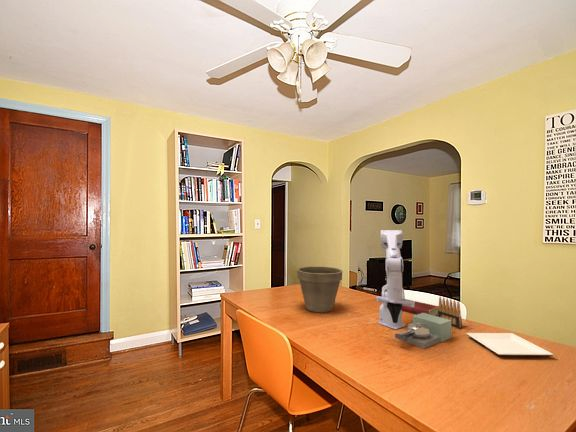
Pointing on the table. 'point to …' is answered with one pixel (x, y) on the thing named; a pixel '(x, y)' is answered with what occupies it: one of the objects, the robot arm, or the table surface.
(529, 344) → the plate
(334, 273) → the plant pot
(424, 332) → the grey t-handle
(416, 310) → the hardcover book
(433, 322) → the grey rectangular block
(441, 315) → the ammunition clip
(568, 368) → the table surface
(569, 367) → the table surface
